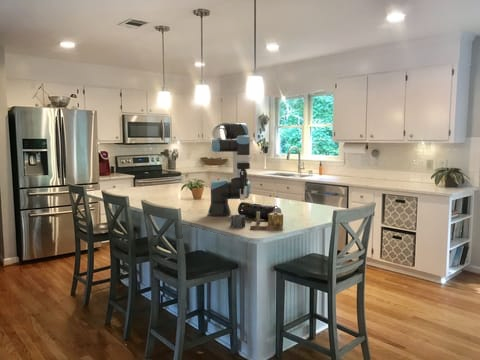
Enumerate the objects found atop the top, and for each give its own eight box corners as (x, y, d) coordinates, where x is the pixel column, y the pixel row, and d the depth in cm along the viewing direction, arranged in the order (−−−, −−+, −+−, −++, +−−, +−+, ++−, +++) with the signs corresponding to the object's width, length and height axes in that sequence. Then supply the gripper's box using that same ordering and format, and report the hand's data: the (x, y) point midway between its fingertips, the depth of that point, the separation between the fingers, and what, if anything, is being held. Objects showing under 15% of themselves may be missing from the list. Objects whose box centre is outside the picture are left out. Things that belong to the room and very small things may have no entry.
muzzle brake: (246, 216, 259) (246, 200, 258) (282, 221, 242) (282, 205, 241) (237, 218, 252) (237, 202, 251) (273, 224, 234) (273, 207, 233)
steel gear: (229, 227, 226) (229, 217, 225) (232, 224, 234) (232, 214, 234) (244, 227, 225) (244, 217, 224) (245, 224, 233) (245, 214, 232)
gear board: (250, 229, 221) (250, 213, 220) (252, 225, 232) (252, 210, 231) (282, 230, 219) (283, 214, 218) (283, 225, 230) (283, 210, 229)
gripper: (248, 163, 216) (248, 201, 218) (251, 161, 241) (251, 195, 243) (234, 163, 217) (234, 201, 219) (239, 161, 242) (239, 195, 244)
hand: (243, 198), depth 231 cm, fingers open, 13 cm apart
